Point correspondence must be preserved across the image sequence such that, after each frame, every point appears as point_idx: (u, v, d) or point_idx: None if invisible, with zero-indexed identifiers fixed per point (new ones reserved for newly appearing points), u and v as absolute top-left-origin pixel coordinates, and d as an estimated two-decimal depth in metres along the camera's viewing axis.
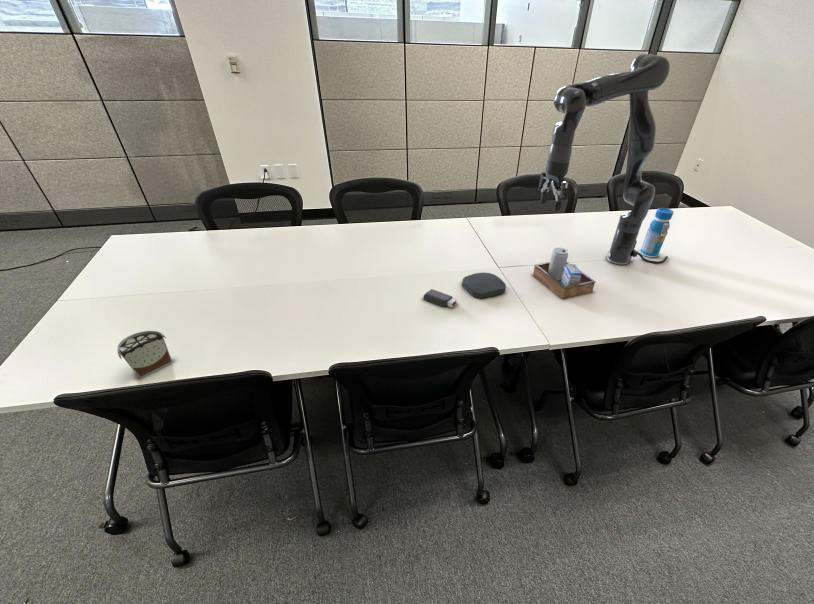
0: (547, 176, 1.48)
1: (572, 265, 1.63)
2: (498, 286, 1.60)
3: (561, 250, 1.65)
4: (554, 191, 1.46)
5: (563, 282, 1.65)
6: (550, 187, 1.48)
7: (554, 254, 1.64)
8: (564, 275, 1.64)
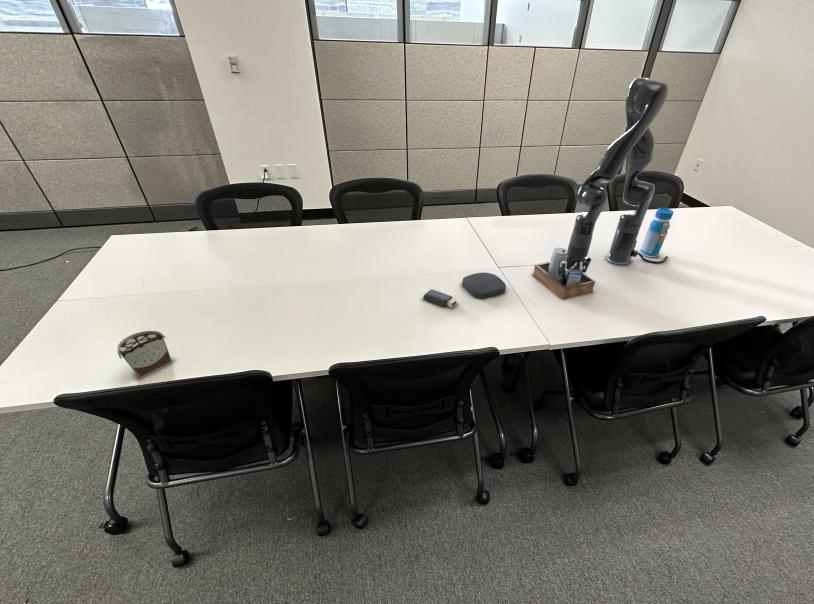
0: None
1: None
2: (498, 286, 1.60)
3: (561, 250, 1.65)
4: None
5: None
6: None
7: (554, 254, 1.64)
8: None
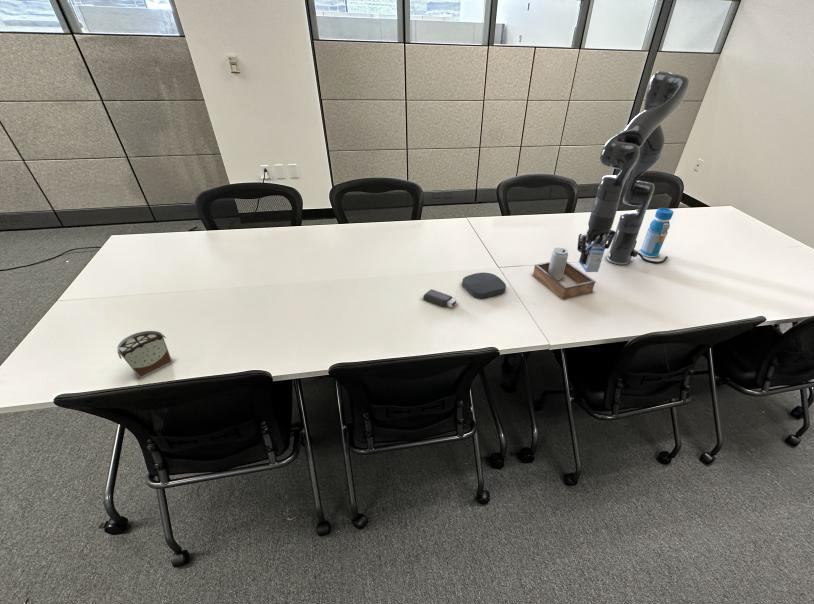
0: None
1: None
2: (498, 286, 1.60)
3: (561, 250, 1.65)
4: None
5: None
6: None
7: (554, 254, 1.64)
8: None
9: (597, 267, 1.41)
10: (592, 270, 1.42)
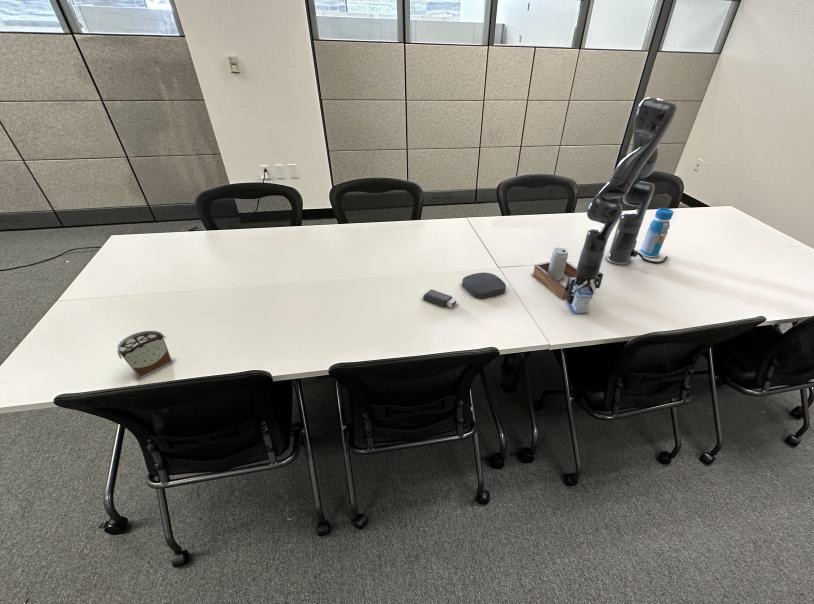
0: None
1: None
2: (498, 286, 1.60)
3: (561, 250, 1.65)
4: None
5: None
6: None
7: (554, 254, 1.64)
8: None
9: (585, 309, 1.52)
10: (580, 311, 1.52)
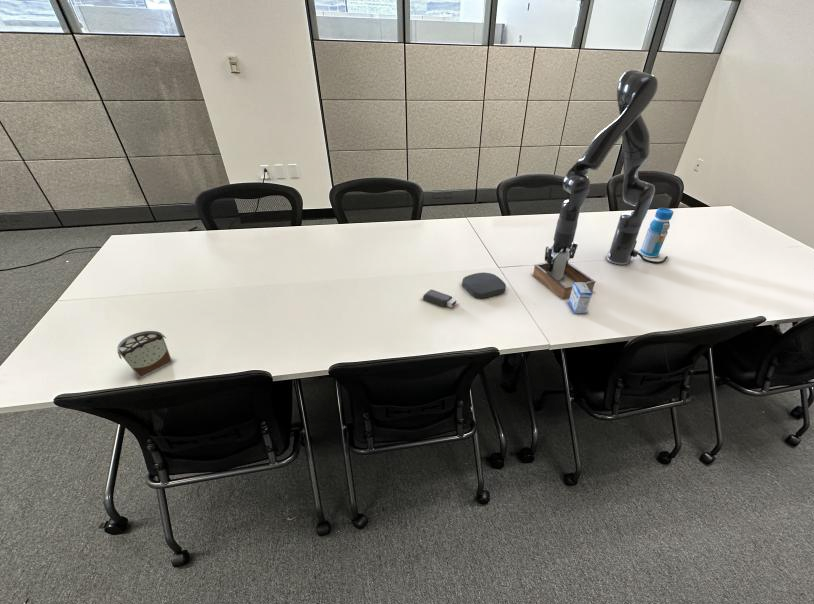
0: None
1: (581, 283, 1.52)
2: (498, 286, 1.60)
3: None
4: None
5: (572, 301, 1.55)
6: None
7: (554, 254, 1.64)
8: (573, 294, 1.53)
9: (585, 309, 1.52)
10: (580, 311, 1.52)
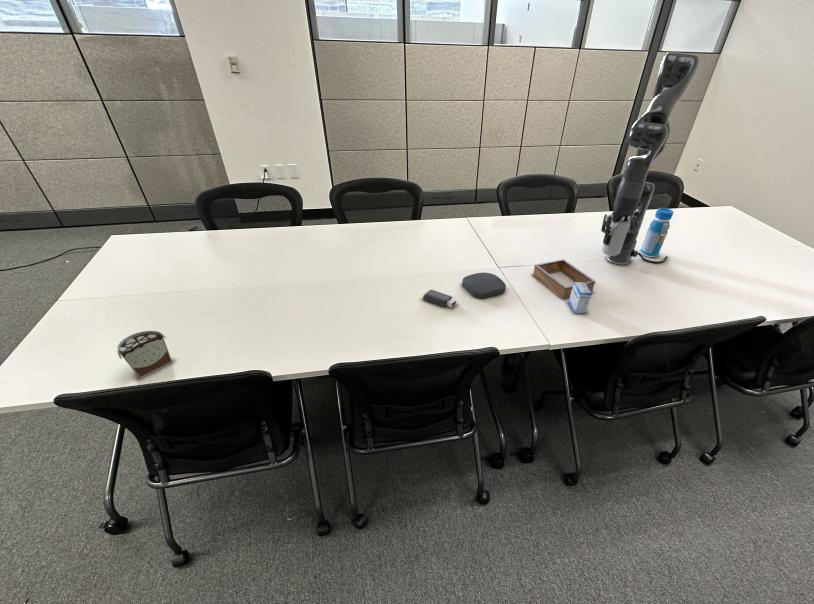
0: None
1: (581, 283, 1.52)
2: (498, 286, 1.60)
3: None
4: None
5: (572, 301, 1.55)
6: None
7: (613, 224, 1.40)
8: (573, 294, 1.54)
9: (585, 309, 1.52)
10: (580, 311, 1.52)
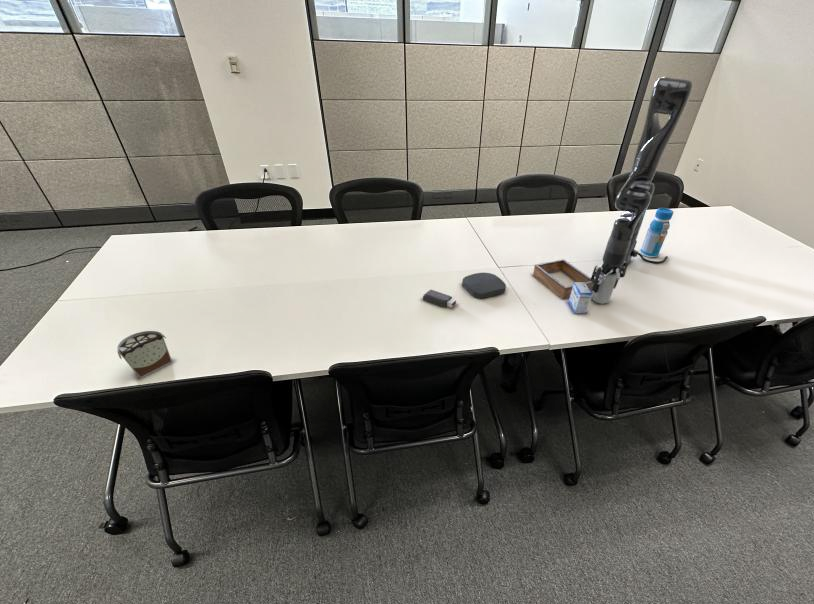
0: None
1: (581, 283, 1.52)
2: (498, 286, 1.60)
3: None
4: None
5: (572, 301, 1.55)
6: None
7: None
8: (573, 294, 1.54)
9: (585, 309, 1.52)
10: (580, 311, 1.52)
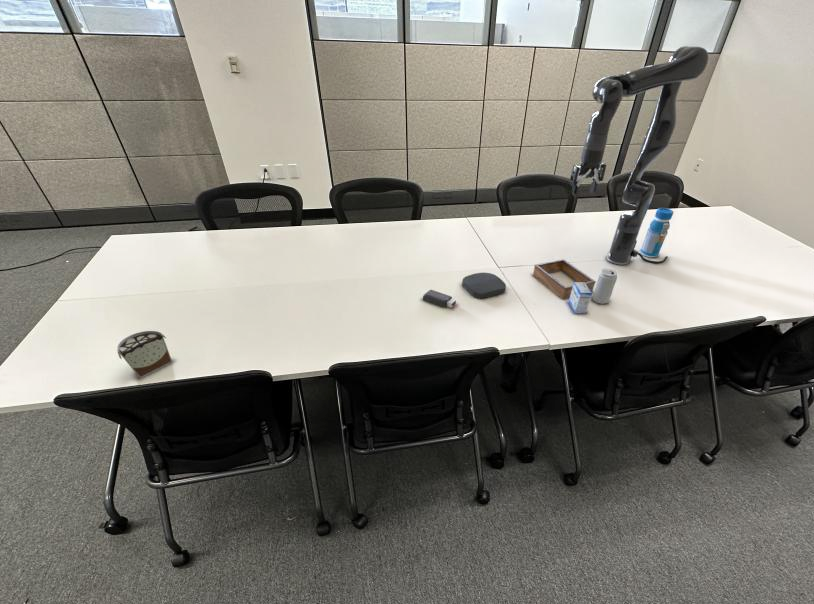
0: None
1: (581, 283, 1.52)
2: (498, 286, 1.60)
3: (609, 272, 1.53)
4: None
5: (572, 301, 1.55)
6: None
7: (602, 276, 1.52)
8: (573, 294, 1.53)
9: (585, 309, 1.52)
10: (580, 311, 1.52)
